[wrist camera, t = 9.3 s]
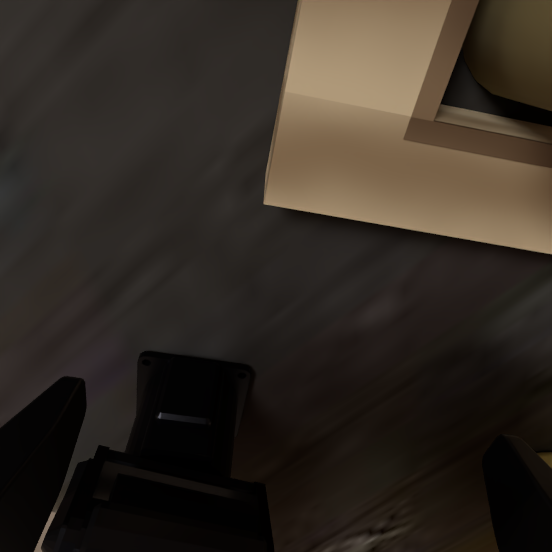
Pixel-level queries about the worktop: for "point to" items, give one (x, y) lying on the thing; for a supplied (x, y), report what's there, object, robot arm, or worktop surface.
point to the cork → (512, 49)
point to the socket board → (402, 129)
